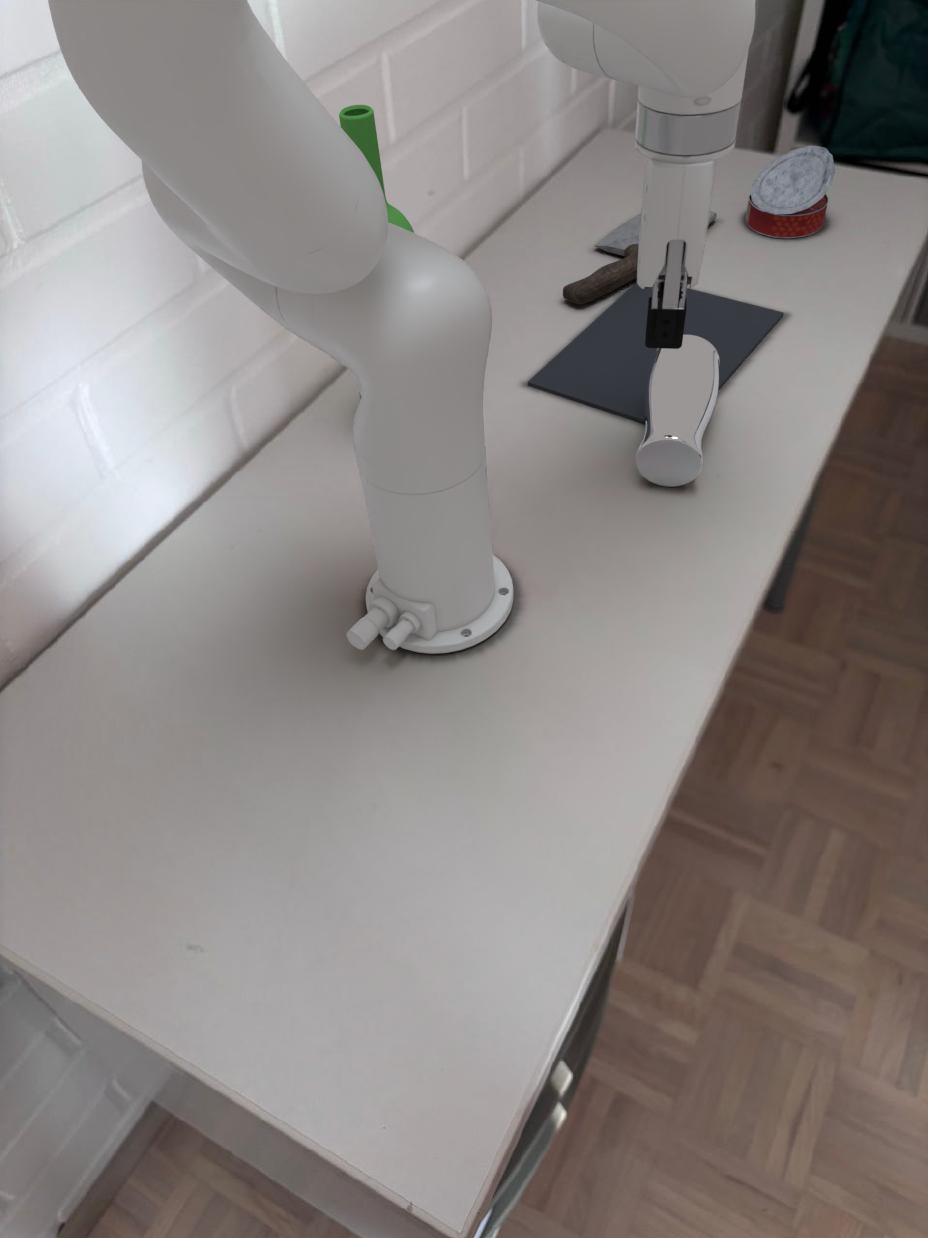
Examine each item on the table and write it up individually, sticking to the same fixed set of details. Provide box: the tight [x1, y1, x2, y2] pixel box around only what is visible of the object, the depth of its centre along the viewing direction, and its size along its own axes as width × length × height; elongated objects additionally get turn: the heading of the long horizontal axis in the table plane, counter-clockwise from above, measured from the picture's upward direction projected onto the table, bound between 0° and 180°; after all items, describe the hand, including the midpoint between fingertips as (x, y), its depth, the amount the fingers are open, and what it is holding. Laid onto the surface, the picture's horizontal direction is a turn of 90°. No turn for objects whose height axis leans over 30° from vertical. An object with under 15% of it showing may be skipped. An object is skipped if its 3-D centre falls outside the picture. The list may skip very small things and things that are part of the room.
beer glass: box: [634, 335, 720, 488], centre depth 91 cm, size 7×7×15 cm
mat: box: [527, 281, 784, 424], centre depth 105 cm, size 26×18×1 cm
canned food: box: [744, 145, 836, 240], centre depth 121 cm, size 11×10×10 cm
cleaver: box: [562, 210, 718, 305], centre depth 120 cm, size 29×10×2 cm, turn 140°
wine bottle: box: [338, 104, 415, 401], centre depth 89 cm, size 8×8×30 cm
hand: (663, 343), depth 84 cm, fingers closed
